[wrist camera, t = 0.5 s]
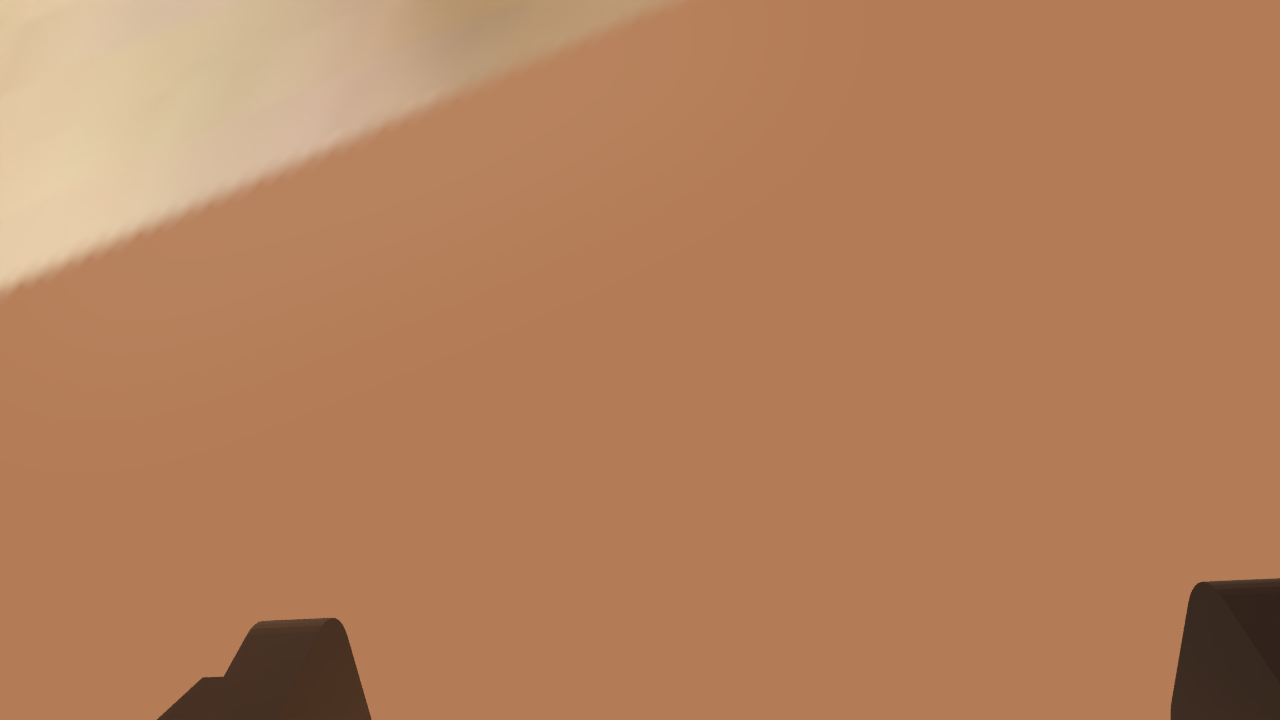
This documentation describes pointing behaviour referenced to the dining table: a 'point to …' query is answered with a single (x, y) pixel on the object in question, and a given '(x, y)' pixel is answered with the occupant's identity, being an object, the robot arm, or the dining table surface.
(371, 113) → the dining table surface
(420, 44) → the dining table surface
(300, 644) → the robot arm
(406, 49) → the dining table surface
